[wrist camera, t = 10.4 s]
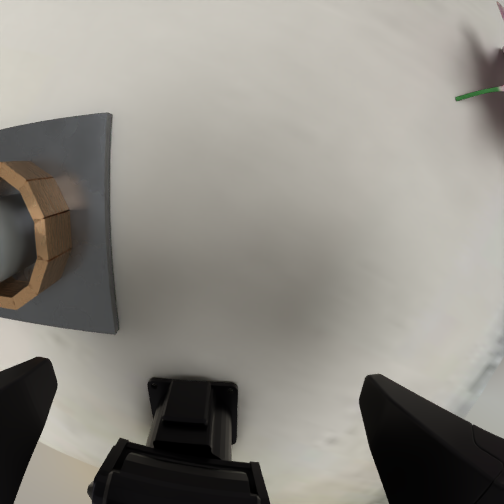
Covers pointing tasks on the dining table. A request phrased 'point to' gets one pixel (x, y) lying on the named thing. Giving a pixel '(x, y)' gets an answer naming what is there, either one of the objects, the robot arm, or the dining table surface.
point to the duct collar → (62, 222)
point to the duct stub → (15, 236)
